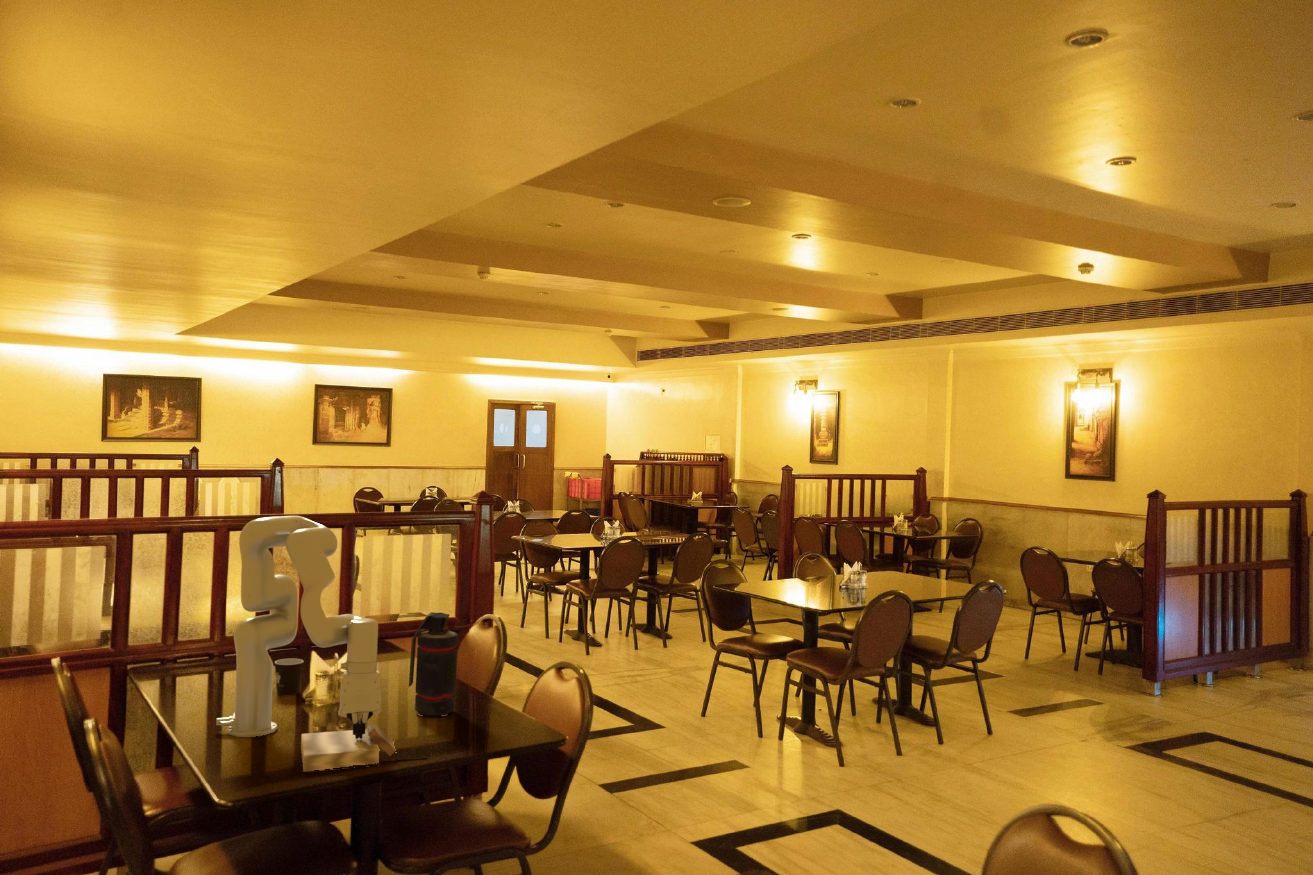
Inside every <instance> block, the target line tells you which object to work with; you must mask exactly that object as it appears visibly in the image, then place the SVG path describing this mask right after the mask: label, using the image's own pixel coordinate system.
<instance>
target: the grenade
mask: <svg viewBox="0 0 1313 875" xmlns="http://www.w3.org/2000/svg"><path fill="white" fill-rule="evenodd" d="M449 618H450V614H449V613H445V612H435V611H432V612H430V613H428V614H427V615H426V616H425V618H423V621H421V623H420V624H419V626H418V628H417V629H416V631H415V633H414V635H413V637H412V639H411V644H410V645H411V646H410V658H409V659H410V660H409V674H408V675H409V676H408V687H411V686H412V685H413V684H414V678H415V693H416V694H415V698H414V699H415V700H414V701H415V702H414V710H415V712H416V713H417V714H418V713H419V714H420V715H424V716H440V715H446V714H448V713H449V714H450V713H451V712H454V711H455V710H456V709H455V708H456V694H457V693H456V692H457V691H456V690H457V671H458V669H457V668H458V645H459V644H458V643H459V634H458V633H457V632H455V631H451V630H450V629H449V628H448V627H449V626H447V625H448V623H449V622H448V621H449ZM422 629H424V631H422V632H421V630H422ZM425 630H426V631H425ZM416 644H417V650H416ZM416 651H417V652H416ZM415 659H416V660H415ZM415 662H416V673H415ZM414 673H415V674H414ZM414 675H415V677H414Z"/></svg>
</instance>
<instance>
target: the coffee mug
mask: <svg viewBox="0 0 1313 875" xmlns="http://www.w3.org/2000/svg"><path fill="white" fill-rule="evenodd" d="M304 663H305V662H304V660H303V659H300V658H282V659H278V660H275V661H274V671H275V673H274V674H275V684H276V694H277V696H281V695H291V696H295V694H296V695H298V694H299V692H300V685H301V679H302V674H303V673H302V672H303V668H304V667H303V666H304Z"/></svg>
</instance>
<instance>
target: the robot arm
mask: <svg viewBox="0 0 1313 875" xmlns="http://www.w3.org/2000/svg"><path fill="white" fill-rule="evenodd" d="M337 538H338V537H337V536H336V534H335V533H334V531H332V529H330V528H329V527H327V526H326V525H323V524H320V523H318V522H315V521H313V520H311V519H308V518H307V517H304V516H301V515H284V516H283V515H281V516H268V517H267V516H265V517H259V518H256V519H252V520H250V521H249V522H247V523H246V524H245V525H244V526H243V528H242V529H241V532H240V534H239V538H238V540H239V541H238V542H239V543H238V545H239V553H240V559H241V573H240V575H241V577H240V581H241V582H240V583H241V584H240V601H241V603H240V604H241V606H242V608H243V610H244V611H247V612H250V613H261V612H266V611H270V614H263V615H258V616H252V617H249V618H246V619H244V620H241V621H240V622H239V623H238V624H237V625H236V627H235V628H234V632H233V641H234V649H235V654H236V655H235V656H236V657H235V659H236V667H235V668H236V673H235V674H236V675H235V696H234V712H233V714H232V715H229V717H217V718H216V725H215V726H220V727H221V728H222V727H228V728H227V734H228V735H230V736H233V737H237V738H257V737H256V736H258V737H263V735H264V736H267V734H268V735H270V733H271V734H272V733H274V732H276V731H277V730H276V729H278V724H277V723H276V722H274V721H272V713H273V712H272V711H273V691H274V690H273V689H274V687H273V686H274V663H273V660H272V658H271V656H270V655H269V651H268V650H272V649H276V648H281V647H285V646H286V645H289V644H291V643H292V642H293V641H294V640H295V638H296V636H297V633H298V632H297V631H298V613H299V610H298V608H299V592H298V587H297V584H296V582H295V581H294V579H293V578H292V577H291V576H289V575H287V574H275V568H276V567H275V564H276V563H275V558H274V556H273V554H272V552H271V551H270V550H269V549H272V548H273V549H274V548H283V547H285V549H286V551H287V555H288V556H289V559H290V561H291V563H292V565H293V567H294V570H295V571H296V572H295V573H296V575H297V577H298V578H299V581H300V583H301V586H302V587H303V593H302V596H301V599H300V618H301V622H302V624H303V626H304V629H305V631H306V633H307V635H308V637H309V639H310V640H311V642H312V643H313V645H315V646H317V647H319V648H325V649H326V648H330V647H334V646H339V645H344V644H347V646H346V647H347V648H346V650H347V651H346V661H345V662H343V663H340V669H343V670H345V671H344V672H343V675H342V679H341V684H340V691H339V708H338V712H337V715H338V716H339V717H343V718H348V720H349V721H351V722H352V730H353V735H355V737H356V739H358V738H360V739H362V736H363V734H365V729H366V723H367V722H368V721H369V719H370V718H371V717H372V716H375V715H379V714H381V713H382V709H381V708H382V707H381V706H382V683H381V682H382V681H381V674H380V671H379V670H377V667H378V664H377V663H378V642H379V640H378V639H379V623H378V620H376V619H375V618H368V617H360V616H358V615H357V614H353V613H345V614H340V615H334V616H328V617H327V616H326V613H325V612H324V610H323V606H322V603H321V596H322V593H323V591H324V590H325V589H326V588H327V587H329V586H330V585H331V584H332V583H333V582H334V581H335V577H336V576H335V572H334V571H333V568H332V566H331V564H330V561H329V559H328V557H331V556H333V555H334V554H335V553H336V551H337V549H338V539H337ZM357 713H361V717H360V720H359V719H358V714H357Z"/></svg>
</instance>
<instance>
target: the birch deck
mask: <svg viewBox="0 0 1313 875" xmlns="http://www.w3.org/2000/svg"><path fill="white" fill-rule="evenodd" d="M300 738H301V739H300V740H301V741H300V753H301V754H302V755H301V761H302V763H303V764H302V769H303V770H302V772H303V773H305V772H315V771H314V770H319V771H326V770H325V769H330V770H334V769H333V768H340V767H349V766H353V765H366V764H367V765H368V764H375V763H376V764H377V763H379V751H380V749H379V747H378V744H377V743H376V742H375V741H374V740H372V739H371V738H370V737H369V735H368V731H367V728H365V734H363V736H362V739H360V738H358V739H356V737H355V735H353V729H352V730H338V731H335V730H334V731H323V732H321V731H320V732H310V733H301V737H300ZM379 764H380V763H379Z"/></svg>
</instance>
